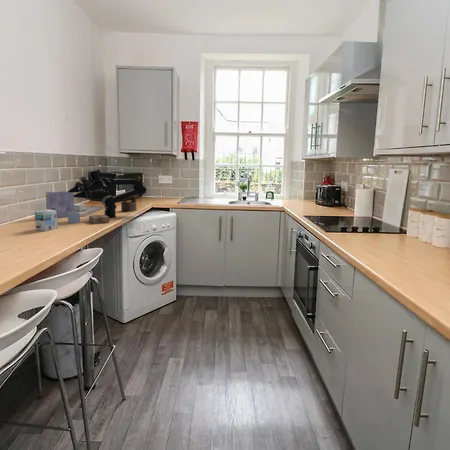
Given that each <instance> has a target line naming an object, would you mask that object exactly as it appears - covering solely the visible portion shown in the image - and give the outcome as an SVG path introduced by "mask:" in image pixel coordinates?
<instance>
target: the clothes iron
mask: <svg viewBox="0 0 450 450" xmlns="http://www.w3.org/2000/svg"><path fill="white" fill-rule="evenodd" d="M139 197H140V195H134V196H131V197H128V198H126V199H123V201H121V209H120V211H121V212H128V213H129V212H135V211H137V199H138V198H139ZM130 198H131V201H127V199H130Z"/></svg>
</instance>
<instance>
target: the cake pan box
mask: <svg viewBox="0 0 450 450" xmlns="http://www.w3.org/2000/svg"><path fill="white" fill-rule="evenodd" d="M68 191H69V190H64V191H63V190H62V191H61V190H60V191H45V207H46V208H45V210H46V209H49V210H57V219H59V218H66V217H67V218H68V213H71V212H76V211H75V210H76V209H75V197H73V195H75V194H74V193H75V192H73V193H69V192H68Z"/></svg>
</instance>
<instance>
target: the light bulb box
mask: <svg viewBox="0 0 450 450" xmlns="http://www.w3.org/2000/svg"><path fill="white" fill-rule="evenodd" d="M34 224H35V231H39V232H41V231H42V232H48V231H51V229H52V230H55V229H58V218H57V210H49V209H46V208H45V209H41V210H37V211H34Z"/></svg>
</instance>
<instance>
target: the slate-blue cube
mask: <svg viewBox="0 0 450 450" xmlns="http://www.w3.org/2000/svg"><path fill="white" fill-rule="evenodd" d="M67 222H68V223H69V224H80V223H81V213H80V212H79V211H75V212H71V213H68V217H67Z"/></svg>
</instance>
